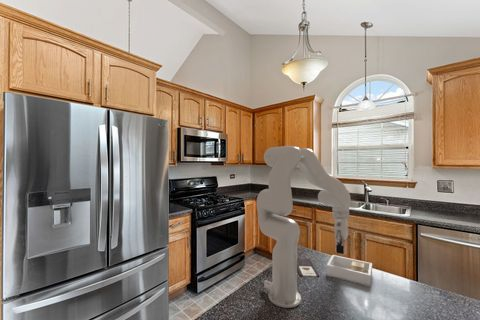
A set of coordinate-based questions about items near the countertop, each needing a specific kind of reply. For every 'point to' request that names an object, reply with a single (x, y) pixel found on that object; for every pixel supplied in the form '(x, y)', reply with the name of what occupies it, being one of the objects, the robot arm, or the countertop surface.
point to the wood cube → (357, 266)
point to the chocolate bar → (306, 268)
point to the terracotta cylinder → (343, 244)
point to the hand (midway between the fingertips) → (340, 250)
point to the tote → (349, 270)
